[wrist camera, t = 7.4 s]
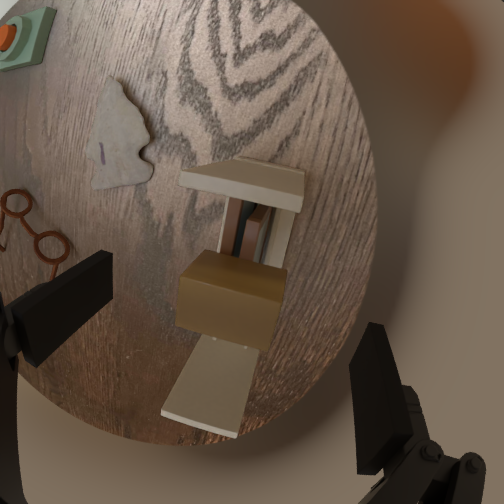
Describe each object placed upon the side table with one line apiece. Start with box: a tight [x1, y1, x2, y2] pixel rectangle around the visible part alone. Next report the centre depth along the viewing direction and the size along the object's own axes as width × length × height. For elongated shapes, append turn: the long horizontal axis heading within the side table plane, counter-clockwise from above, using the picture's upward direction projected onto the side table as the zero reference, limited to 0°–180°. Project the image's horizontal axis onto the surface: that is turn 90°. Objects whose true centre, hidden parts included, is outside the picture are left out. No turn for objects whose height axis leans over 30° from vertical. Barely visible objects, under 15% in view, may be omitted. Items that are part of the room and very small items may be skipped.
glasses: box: [0, 189, 70, 281], centre depth 33 cm, size 13×13×5 cm
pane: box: [175, 204, 287, 351], centre depth 21 cm, size 8×5×13 cm, turn 169°
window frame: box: [161, 156, 305, 438], centre depth 24 cm, size 18×6×14 cm, turn 168°
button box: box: [0, 6, 56, 72], centre depth 23 cm, size 8×10×4 cm
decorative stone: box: [85, 76, 153, 190], centre depth 27 cm, size 8×12×3 cm
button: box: [0, 24, 17, 51], centre depth 21 cm, size 4×4×2 cm
